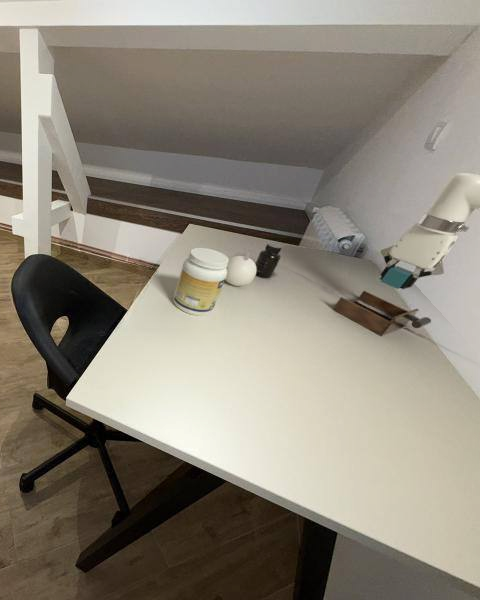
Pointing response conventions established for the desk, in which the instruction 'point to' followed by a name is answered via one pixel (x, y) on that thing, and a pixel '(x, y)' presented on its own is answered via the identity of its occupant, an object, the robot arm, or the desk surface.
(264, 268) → the supplement bottle
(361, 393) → the desk surface
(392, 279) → the block
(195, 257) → the supplement tub
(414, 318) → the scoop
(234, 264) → the ornament
